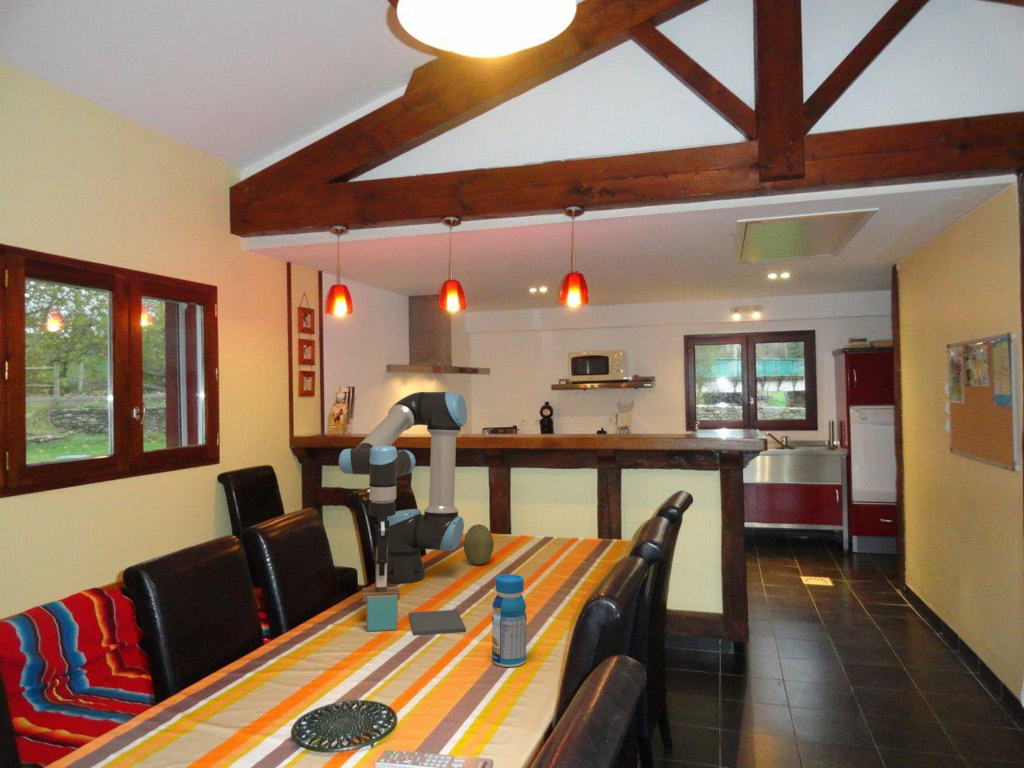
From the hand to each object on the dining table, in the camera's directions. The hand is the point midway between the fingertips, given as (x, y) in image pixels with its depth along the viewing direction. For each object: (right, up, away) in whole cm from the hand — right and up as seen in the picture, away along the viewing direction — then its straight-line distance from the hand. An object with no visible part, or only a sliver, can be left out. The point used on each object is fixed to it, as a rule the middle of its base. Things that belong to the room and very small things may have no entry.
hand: (381, 584), depth 191 cm
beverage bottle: (+36, -10, -28) cm, 47 cm away
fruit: (+24, -12, +66) cm, 71 cm away
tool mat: (+16, -10, -2) cm, 19 cm away
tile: (+2, -10, -7) cm, 13 cm away
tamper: (0, -4, 0) cm, 4 cm away
